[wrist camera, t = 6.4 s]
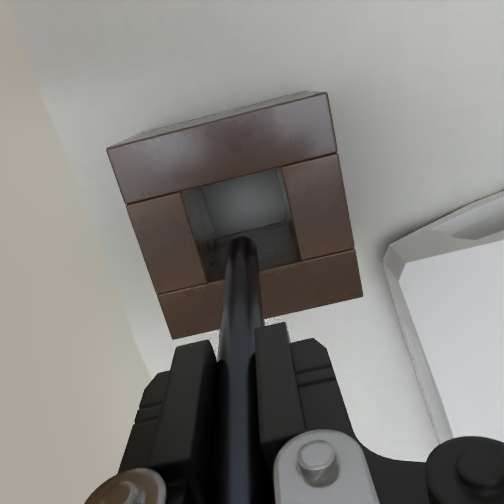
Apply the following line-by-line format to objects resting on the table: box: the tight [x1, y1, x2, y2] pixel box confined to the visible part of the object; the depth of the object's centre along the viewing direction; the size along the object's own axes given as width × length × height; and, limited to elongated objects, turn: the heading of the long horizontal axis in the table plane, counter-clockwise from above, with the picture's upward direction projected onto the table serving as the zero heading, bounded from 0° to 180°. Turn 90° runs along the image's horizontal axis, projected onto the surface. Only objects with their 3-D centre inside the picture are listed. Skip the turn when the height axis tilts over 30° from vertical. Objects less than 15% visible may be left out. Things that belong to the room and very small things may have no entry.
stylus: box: [205, 235, 276, 504], centre depth 12 cm, size 1×1×14 cm
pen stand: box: [106, 91, 363, 340], centre depth 24 cm, size 10×10×7 cm
